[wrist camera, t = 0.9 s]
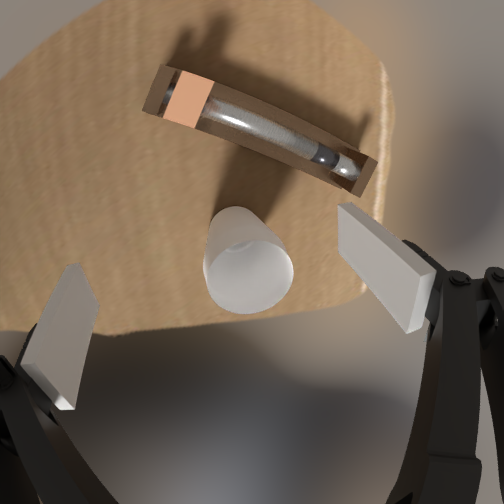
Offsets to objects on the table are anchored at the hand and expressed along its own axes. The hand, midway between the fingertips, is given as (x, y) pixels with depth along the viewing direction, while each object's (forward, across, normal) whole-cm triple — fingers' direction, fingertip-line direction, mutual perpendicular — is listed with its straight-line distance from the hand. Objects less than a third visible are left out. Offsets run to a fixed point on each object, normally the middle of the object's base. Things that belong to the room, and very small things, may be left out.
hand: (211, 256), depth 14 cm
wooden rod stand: (+24, +8, +2) cm, 25 cm away
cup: (+24, +3, -10) cm, 26 cm away
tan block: (+21, 0, +7) cm, 22 cm away
